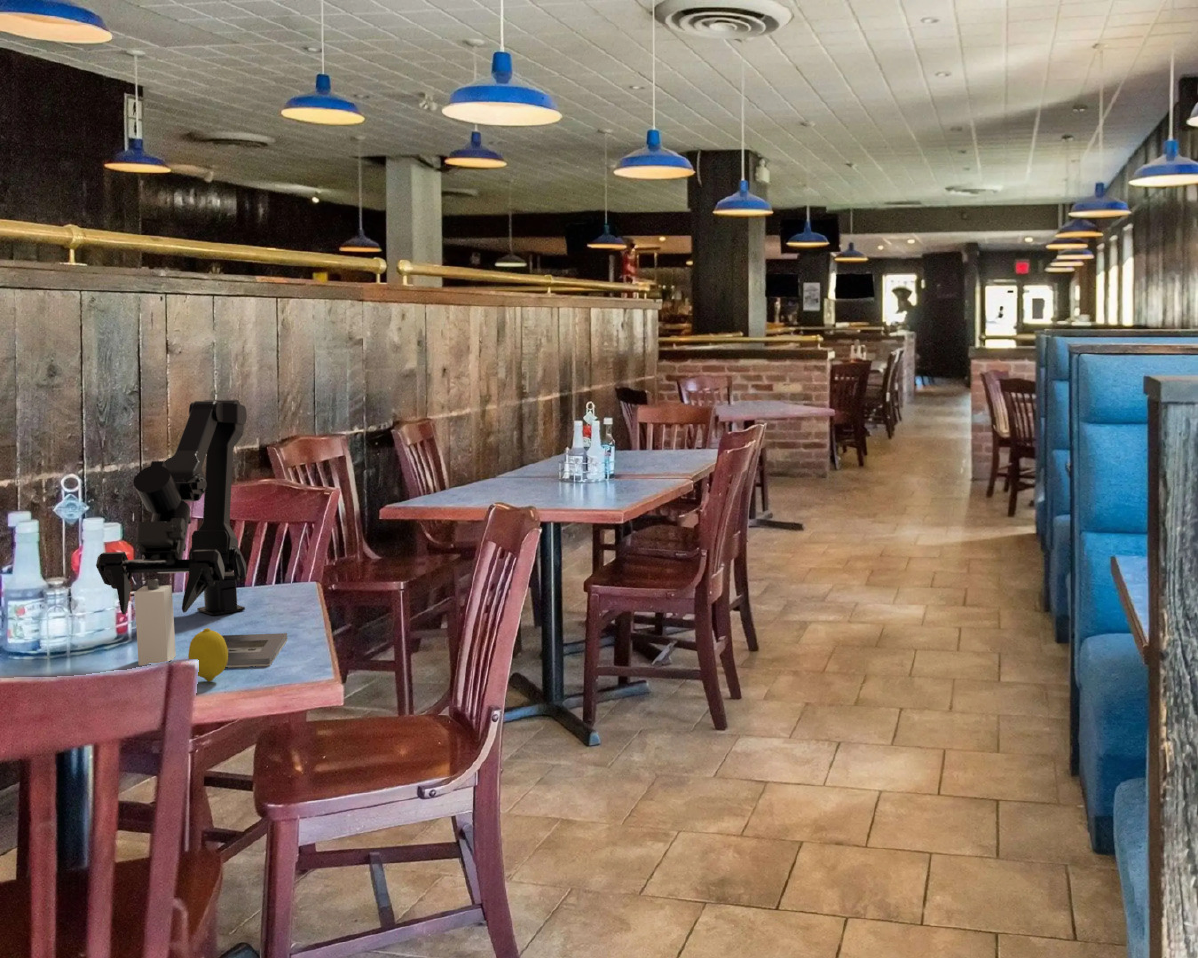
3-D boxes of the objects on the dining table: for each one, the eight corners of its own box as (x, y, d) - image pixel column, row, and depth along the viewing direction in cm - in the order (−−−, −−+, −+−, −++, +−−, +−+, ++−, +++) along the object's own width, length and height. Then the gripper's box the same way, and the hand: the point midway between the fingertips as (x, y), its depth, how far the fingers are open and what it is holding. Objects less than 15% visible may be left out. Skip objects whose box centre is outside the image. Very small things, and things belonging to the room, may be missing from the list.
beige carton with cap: (147, 657, 196) (142, 576, 194) (175, 656, 196) (171, 575, 194) (138, 665, 191) (133, 582, 189) (167, 664, 191) (163, 581, 190)
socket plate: (213, 642, 204) (213, 635, 204) (287, 640, 205) (287, 633, 205) (189, 668, 188) (189, 661, 188) (269, 665, 189) (269, 658, 189)
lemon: (237, 677, 183) (234, 625, 182) (213, 688, 178) (211, 633, 177) (205, 675, 185) (202, 622, 184) (181, 685, 180) (178, 631, 179)
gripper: (96, 502, 194) (76, 584, 185) (217, 499, 196) (204, 581, 186) (114, 543, 203) (96, 624, 193) (230, 540, 205) (218, 620, 195)
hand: (153, 612), depth 192 cm, fingers open, 9 cm apart
